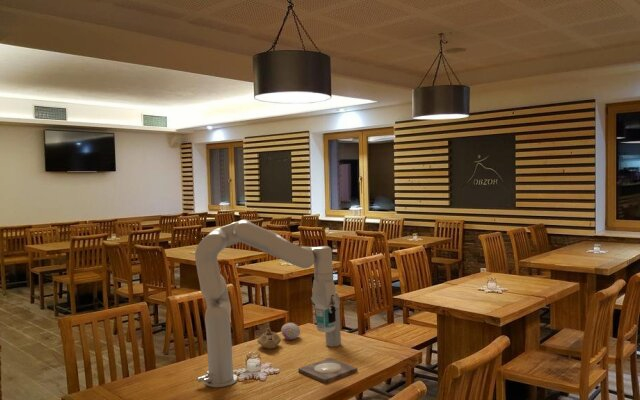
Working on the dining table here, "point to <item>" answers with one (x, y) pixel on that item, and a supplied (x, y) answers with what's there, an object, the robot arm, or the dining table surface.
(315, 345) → the dining table surface
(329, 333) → the water bottle
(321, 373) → the serving board
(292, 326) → the decorative item
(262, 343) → the oil lamp
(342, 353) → the dining table surface
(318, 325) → the pill bottle
